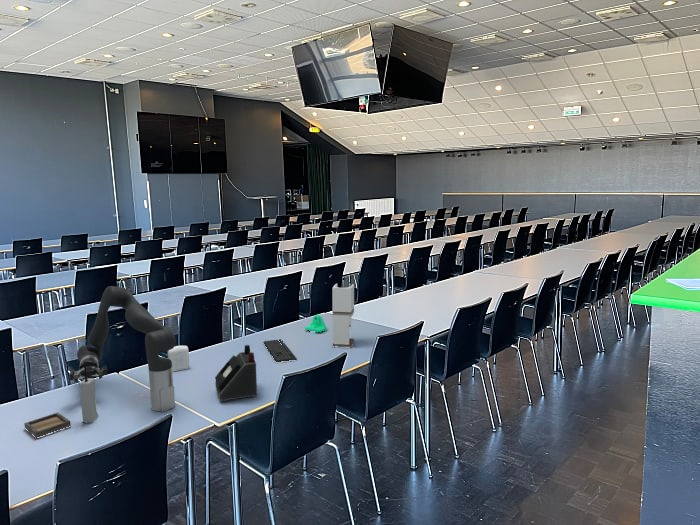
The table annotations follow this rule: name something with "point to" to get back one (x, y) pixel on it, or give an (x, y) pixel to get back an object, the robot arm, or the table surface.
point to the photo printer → (179, 358)
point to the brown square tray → (47, 424)
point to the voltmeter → (237, 377)
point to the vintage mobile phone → (88, 398)
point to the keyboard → (279, 350)
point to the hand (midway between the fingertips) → (88, 378)
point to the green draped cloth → (317, 324)
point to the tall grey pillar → (342, 315)
